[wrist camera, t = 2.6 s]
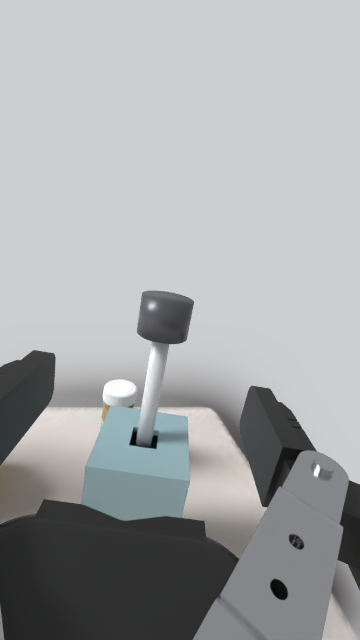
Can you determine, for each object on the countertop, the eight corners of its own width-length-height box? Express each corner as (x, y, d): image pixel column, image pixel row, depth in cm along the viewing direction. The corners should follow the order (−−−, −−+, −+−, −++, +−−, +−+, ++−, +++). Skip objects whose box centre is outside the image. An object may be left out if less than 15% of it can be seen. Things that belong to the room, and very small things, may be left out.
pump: (162, 471, 24) (195, 308, 20) (115, 465, 24) (138, 298, 20) (166, 422, 30) (191, 290, 26) (129, 417, 30) (148, 283, 26)
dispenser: (156, 622, 27) (189, 481, 22) (70, 612, 26) (85, 466, 21) (161, 535, 34) (187, 416, 29) (95, 526, 34) (110, 404, 29)
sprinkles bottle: (124, 477, 41) (135, 397, 37) (92, 475, 41) (100, 393, 37) (127, 454, 45) (138, 380, 42) (98, 451, 45) (107, 376, 41)
